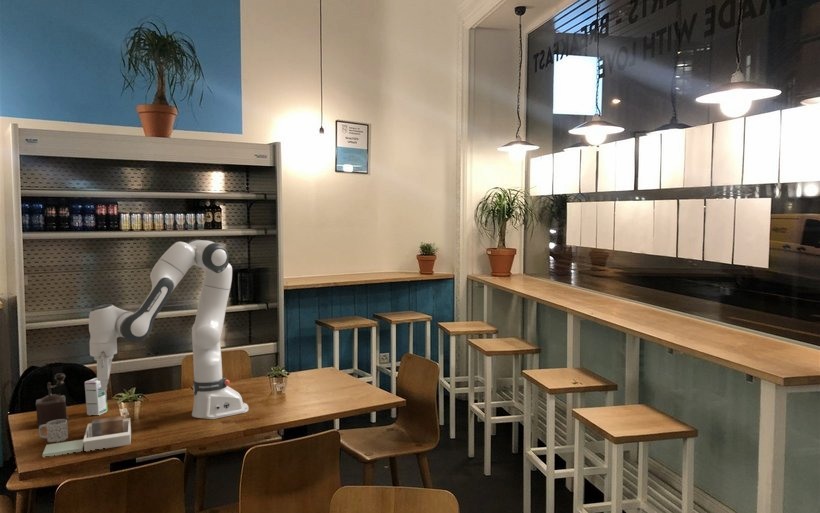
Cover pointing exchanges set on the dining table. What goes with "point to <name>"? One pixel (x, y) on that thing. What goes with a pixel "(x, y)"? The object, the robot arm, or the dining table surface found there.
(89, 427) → the tray
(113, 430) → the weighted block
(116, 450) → the dining table surface
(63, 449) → the green board
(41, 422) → the pepper mill
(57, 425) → the mug
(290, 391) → the dining table surface
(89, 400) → the syrup box
